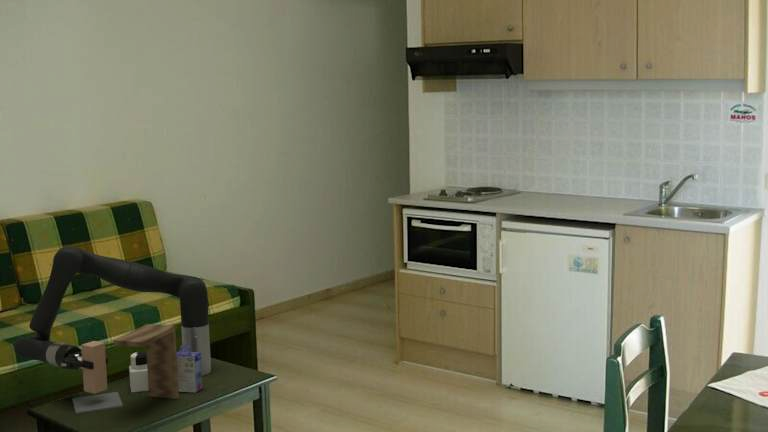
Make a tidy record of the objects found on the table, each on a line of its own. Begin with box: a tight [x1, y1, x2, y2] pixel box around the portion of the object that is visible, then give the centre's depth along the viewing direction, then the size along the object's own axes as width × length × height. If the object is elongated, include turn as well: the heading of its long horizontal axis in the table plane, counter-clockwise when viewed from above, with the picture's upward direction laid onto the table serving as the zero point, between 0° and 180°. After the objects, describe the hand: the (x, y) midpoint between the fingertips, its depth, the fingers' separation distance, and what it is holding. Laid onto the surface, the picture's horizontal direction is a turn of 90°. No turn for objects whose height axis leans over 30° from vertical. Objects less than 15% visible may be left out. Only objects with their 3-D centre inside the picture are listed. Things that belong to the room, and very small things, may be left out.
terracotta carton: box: [80, 340, 108, 395], centre depth 288 cm, size 5×5×15 cm
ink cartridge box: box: [176, 345, 203, 393], centre depth 300 cm, size 10×6×14 cm, turn 78°
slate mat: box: [72, 391, 124, 415], centre depth 290 cm, size 14×14×1 cm
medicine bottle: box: [128, 351, 149, 393], centre depth 303 cm, size 7×7×12 cm
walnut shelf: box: [112, 323, 180, 400], centre depth 285 cm, size 10×19×24 cm, turn 163°
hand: (99, 363), depth 286 cm, fingers closed on terracotta carton, 5 cm apart
